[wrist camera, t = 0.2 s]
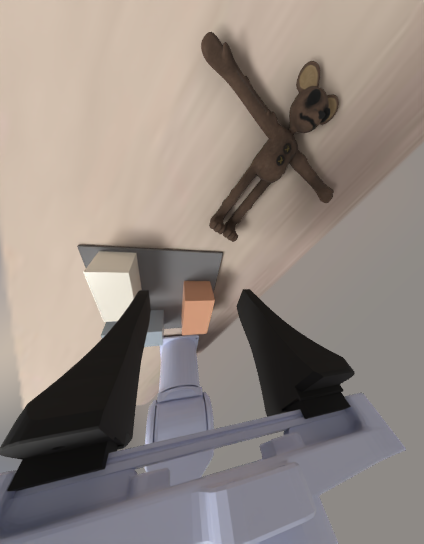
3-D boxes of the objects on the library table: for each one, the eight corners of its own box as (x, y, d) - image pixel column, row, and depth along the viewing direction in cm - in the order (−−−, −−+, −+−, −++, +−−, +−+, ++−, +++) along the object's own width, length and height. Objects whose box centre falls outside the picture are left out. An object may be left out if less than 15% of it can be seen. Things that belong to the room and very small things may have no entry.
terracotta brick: (203, 313, 29) (206, 333, 26) (181, 314, 28) (182, 335, 25) (210, 281, 24) (214, 300, 21) (183, 280, 23) (185, 301, 20)
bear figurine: (140, 188, 13) (276, -160, 6) (149, 176, 16) (245, -62, 9) (272, 268, 22) (395, 165, 14) (261, 250, 25) (358, 158, 17)
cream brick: (142, 298, 24) (137, 320, 21) (113, 298, 23) (103, 321, 20) (136, 252, 19) (128, 272, 16) (99, 251, 18) (83, 272, 15)
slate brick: (163, 309, 26) (162, 331, 23) (164, 324, 29) (162, 345, 26) (110, 311, 24) (100, 335, 21) (115, 326, 27) (107, 350, 24)
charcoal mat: (205, 324, 32) (205, 326, 31) (111, 330, 28) (110, 332, 27) (222, 252, 22) (222, 253, 21) (78, 245, 18) (77, 246, 17)
